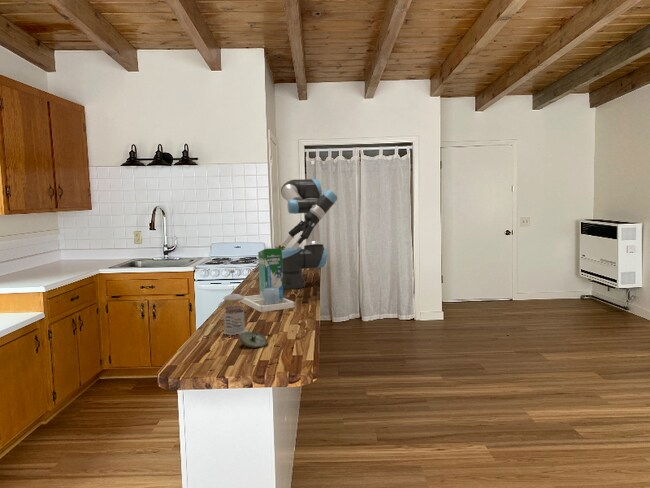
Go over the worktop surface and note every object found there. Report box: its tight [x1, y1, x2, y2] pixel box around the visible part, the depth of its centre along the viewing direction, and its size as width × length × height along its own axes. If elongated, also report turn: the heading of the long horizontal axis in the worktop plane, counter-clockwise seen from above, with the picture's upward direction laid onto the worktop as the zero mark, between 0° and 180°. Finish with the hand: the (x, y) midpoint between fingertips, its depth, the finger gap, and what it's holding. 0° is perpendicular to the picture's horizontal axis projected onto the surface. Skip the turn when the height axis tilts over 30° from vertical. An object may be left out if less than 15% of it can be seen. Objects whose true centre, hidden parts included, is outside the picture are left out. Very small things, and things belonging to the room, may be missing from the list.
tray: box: [240, 294, 295, 313], centre depth 256 cm, size 28×17×4 cm, turn 28°
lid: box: [238, 331, 268, 349], centre depth 190 cm, size 11×10×5 cm
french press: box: [217, 269, 248, 336], centre depth 209 cm, size 10×12×25 cm
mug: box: [264, 287, 279, 306], centre depth 248 cm, size 9×7×9 cm
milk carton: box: [257, 247, 284, 299], centre depth 258 cm, size 9×9×25 cm
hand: (288, 246), depth 265 cm, fingers open, 13 cm apart
